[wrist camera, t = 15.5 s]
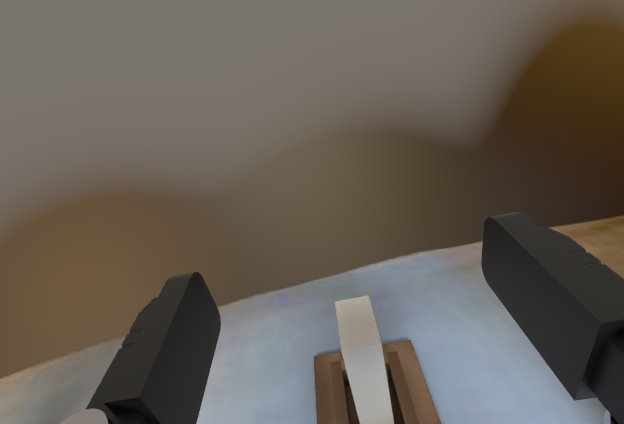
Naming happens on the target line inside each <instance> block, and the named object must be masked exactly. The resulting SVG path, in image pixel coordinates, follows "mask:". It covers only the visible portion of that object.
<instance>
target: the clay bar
mask: <svg viewBox="0 0 624 424" xmlns="http://www.w3.org/2000/svg"><path fill="white" fill-rule="evenodd" d="M335 308H336V315H337V323H338V330H339V337H340V344H341V351H342V355H343V359H344V363H345V367H346V371H347V375H348V379H349V383H350V387H351V391H352V395H353V399H354V403H355V406H356V410H357V414H358V418H359V422H360V424H394V419H393V413H392V407H391V400H390V394H389V388H388V381H387V375H386V368H385V362H384V356H383V349H382V343H381V340H380V336H379V332H378V329H377V325H376V321H375V317H374V314H373V310H372V306H371V303H370V299H369V295H368V296H362V297H357V298H351V299H346V300H341V301H335Z"/></svg>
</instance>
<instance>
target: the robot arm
mask: <svg viewBox="0 0 624 424" xmlns="http://www.w3.org/2000/svg"><path fill="white" fill-rule="evenodd" d="M483 234H484V235H483V247H482V270H483V274H484V277H485V279H486V281H487V283H488V285H489V286H490V287H491V289H492V290H493V292H494V293H495V294H496V296H497V297H498V298H499V300H500V301H501V302H502V304H503V305H504V306H505V308H506V309H507V310H508V312H509V313H510V314H511V316H512V317H513V318H514V320H515V321H516V322H517V324H518V325H519V327H520V328H521V329H522V331H523V332H524V333H525V335H526V336H527V337H528V339H529V340H530V341H531V343H532V344H533V345H534V347H535V348H536V349H537V351H538V352H539V353H540V355H541V356H542V357H543V359H544V360H545V362H546V363H547V364H548V366H549V367H550V368H551V370H552V371H553V372H554V374H555V375H556V376H557V378H558V379H559V380H560V382H561V383H562V384H563V386H564V387H565V388H566V390H567V391H568V392H569V394H570V395H571V397H572V398H573V399H574V400H581V399H588V398H594V397H597V398H598V399H599V400H600V402H601V403H602V404H603V405H604V407H605V408H606V411H605V414H604V424H624V279H623V278H621V277H620V276H619V275H617V274H616V273H615V272H614V271H612V270H611V269H610V268H608V267H607V266H606V265H602V264H601V261H599V260H598V259H597V258H595V257H594V256H593V255H592V254H590V253H586V250H585V249H584V248H582V247H581V246H580V245H579V244H577V243H576V242H575V241H573V240H572V239H571V238H569V237H568V236H566V235H564V234H561V233H559V232H557V231H554V230H552V229H550V228H547V227H540V228H539V227H538V226H537V225H535V224H534V223H533V222H532V221H531V220H529V219H528V218H527V217H525V216H524V215H523V214H522V213H520V212H514V213H509V214H504V215H499V216H494V217H488V218H487V219H486V220H485V223H484V233H483ZM220 326H221V321H220V314H219V311H218V308H217V306H216V304H215V302H214V300H213V298H212V296H211V294H210V292H209V290H208V288H207V286H206V284H205V281H204V279H203V278H202V276H201V275H200V274H199V273H198V272H194V273H189V274H183V275H178V276H173V277H170V278H169V279H168V280H167V281H166V283H165V285H164V287H163V289H162V291H161V293H160V295H159V297H158V298H154V299H153V300H152V301H151V302H150V303H149V304H148V305H147V306H146V307H145V308H144V309H143V310H142V311H141V312H140V313H139V315H138V317H137V318H136V320H135V322H134V324H133V326H132V327H131V329H130V334H127V336H126V338H125V340H124V342H123V343H122V348H121V349H119V350H118V352H117V354H116V356H115V358H114V359H113V361H112V363H111V365H110V367H109V368H108V370H107V372H106V374H105V376H104V377H103V379H102V381H101V383H100V385H99V386H98V388H97V390H96V392H95V394H94V395H93V397H92V399H91V401H90V403H89V404H88V406H87V408H86V409H85V410H83V411H80V412H77V413H75V414H73V415H71V416H70V417H68V418H66V419H65V420H63V421H62V422H61V423H59V424H196V422H197V419H198V415H199V411H200V407H201V403H202V399H203V395H204V391H205V387H206V384H207V380H208V376H209V372H210V368H211V364H212V360H213V356H214V352H215V348H216V345H217V341H218V337H219V333H220Z"/></svg>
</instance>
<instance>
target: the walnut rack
mask: <svg viewBox="0 0 624 424" xmlns="http://www.w3.org/2000/svg"><path fill="white" fill-rule="evenodd" d="M382 349H383V356H384V362H385V368H386V375H387V381H388V388H389V394H390V400H391V407H392V413H393V419H394V424H441V423H440V420H439V417H438V415H437V412H436V409H435V406H434V404H433V401H432V398H431V395H430V393H429V390H428V387H427V384H426V381H425V379H424V376H423V373H422V370H421V368H420V365H419V362H418V359H417V357H416V354H415V351H414V348H413V345H412V343H411V340H408V341H402V342H396V343H391V344H385V345H382ZM314 368H315V389H316V410H317V424H360V422H359V418H358V414H357V410H356V406H355V403H354V399H353V395H352V391H351V387H350V383H349V379H348V375H347V371H346V367H345V363H344V359H343V355H342V352H338V353H332V354H326V355H320V356H314Z"/></svg>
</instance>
